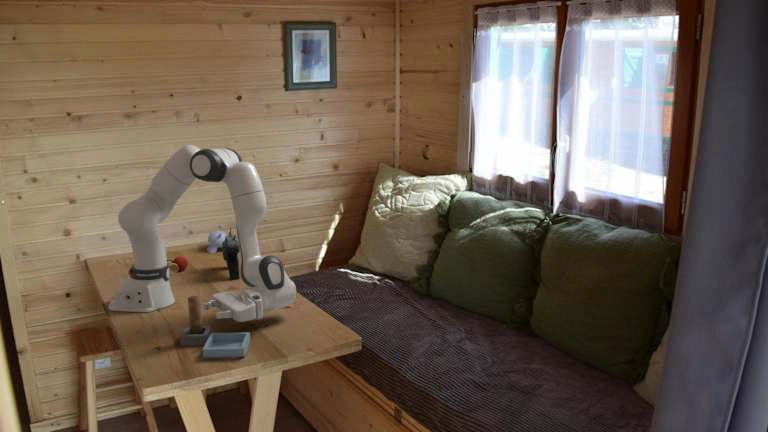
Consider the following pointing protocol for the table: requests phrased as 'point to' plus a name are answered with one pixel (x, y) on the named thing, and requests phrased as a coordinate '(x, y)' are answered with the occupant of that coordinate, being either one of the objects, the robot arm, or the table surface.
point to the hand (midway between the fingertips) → (209, 311)
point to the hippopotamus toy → (215, 240)
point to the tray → (226, 345)
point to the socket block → (195, 336)
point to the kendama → (177, 264)
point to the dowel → (195, 315)
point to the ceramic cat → (231, 255)
